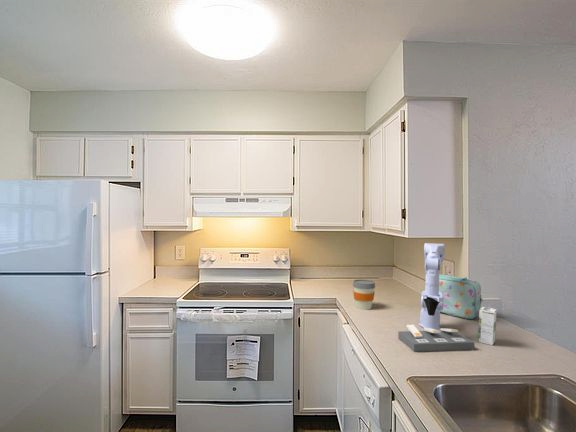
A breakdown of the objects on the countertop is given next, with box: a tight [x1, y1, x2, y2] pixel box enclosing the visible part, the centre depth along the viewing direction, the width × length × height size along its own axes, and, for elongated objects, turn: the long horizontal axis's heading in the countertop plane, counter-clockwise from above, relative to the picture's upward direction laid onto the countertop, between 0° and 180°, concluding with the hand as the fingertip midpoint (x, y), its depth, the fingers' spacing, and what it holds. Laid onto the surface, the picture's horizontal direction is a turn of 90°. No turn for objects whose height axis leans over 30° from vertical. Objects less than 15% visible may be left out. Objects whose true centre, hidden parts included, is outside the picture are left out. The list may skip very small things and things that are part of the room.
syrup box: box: [477, 306, 498, 346], centre depth 145 cm, size 6×6×14 cm
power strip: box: [397, 330, 475, 353], centre depth 142 cm, size 14×26×4 cm, turn 97°
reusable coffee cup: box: [352, 279, 376, 311], centre depth 194 cm, size 12×12×15 cm
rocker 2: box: [440, 327, 459, 333], centre depth 146 cm, size 8×3×1 cm, turn 7°
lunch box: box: [439, 274, 484, 320], centre depth 184 cm, size 27×10×21 cm, turn 43°
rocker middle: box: [423, 328, 441, 333], centre depth 145 cm, size 8×3×1 cm, turn 7°
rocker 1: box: [406, 324, 423, 338], centre depth 144 cm, size 8×3×1 cm, turn 7°
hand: (431, 315), depth 151 cm, fingers closed
